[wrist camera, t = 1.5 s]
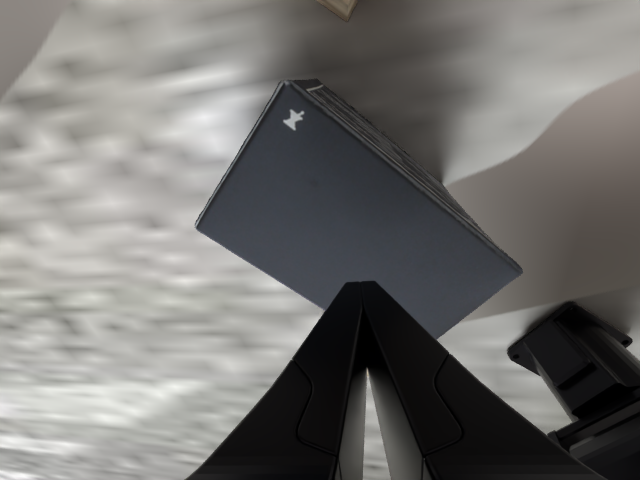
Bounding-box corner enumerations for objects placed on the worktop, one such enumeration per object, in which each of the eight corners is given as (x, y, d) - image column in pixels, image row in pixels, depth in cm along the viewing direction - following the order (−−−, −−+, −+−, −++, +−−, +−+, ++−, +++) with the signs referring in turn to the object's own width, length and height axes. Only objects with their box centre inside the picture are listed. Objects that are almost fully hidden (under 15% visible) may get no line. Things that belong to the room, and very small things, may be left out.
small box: (254, 165, 21) (180, 232, 11) (313, 73, 18) (282, 60, 9) (378, 254, 23) (404, 372, 13) (446, 184, 20) (536, 269, 11)
